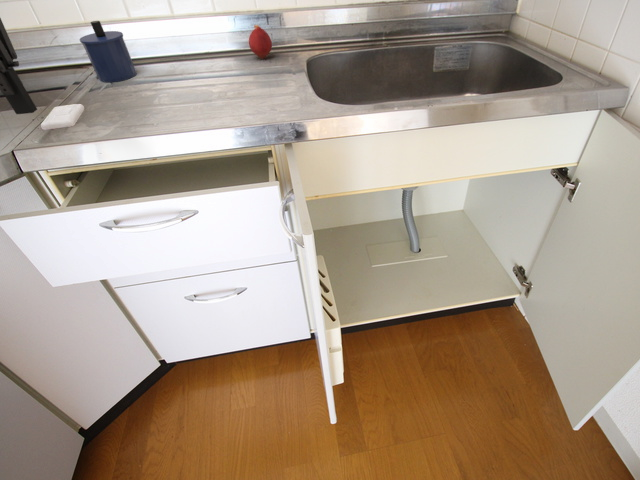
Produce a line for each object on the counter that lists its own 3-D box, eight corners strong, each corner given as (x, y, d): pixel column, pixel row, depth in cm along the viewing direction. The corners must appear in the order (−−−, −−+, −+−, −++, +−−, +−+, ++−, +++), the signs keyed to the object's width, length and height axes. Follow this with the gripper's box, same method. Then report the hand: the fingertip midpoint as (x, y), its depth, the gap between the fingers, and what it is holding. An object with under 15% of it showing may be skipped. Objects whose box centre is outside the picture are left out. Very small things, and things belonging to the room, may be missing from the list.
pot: (93, 77, 99) (76, 40, 93) (127, 68, 103) (112, 31, 97) (108, 85, 94) (90, 46, 88) (142, 74, 99) (128, 37, 93)
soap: (61, 120, 79) (53, 105, 77) (90, 116, 80) (82, 102, 78) (47, 139, 73) (38, 124, 71) (78, 135, 74) (70, 120, 72)
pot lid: (75, 42, 93) (66, 23, 90) (114, 34, 98) (107, 15, 95) (90, 49, 88) (81, 28, 86) (131, 39, 93) (123, 20, 90)
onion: (267, 54, 108) (261, 20, 102) (278, 58, 104) (272, 24, 99) (248, 58, 105) (241, 24, 99) (259, 63, 102) (252, 28, 96)
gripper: (-93, -73, 45) (31, 126, 61) (-27, -78, 54) (66, 95, 70) (-163, -69, 44) (-19, 130, 60) (-84, -75, 54) (23, 99, 70)
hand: (27, 111), depth 65 cm, fingers closed
